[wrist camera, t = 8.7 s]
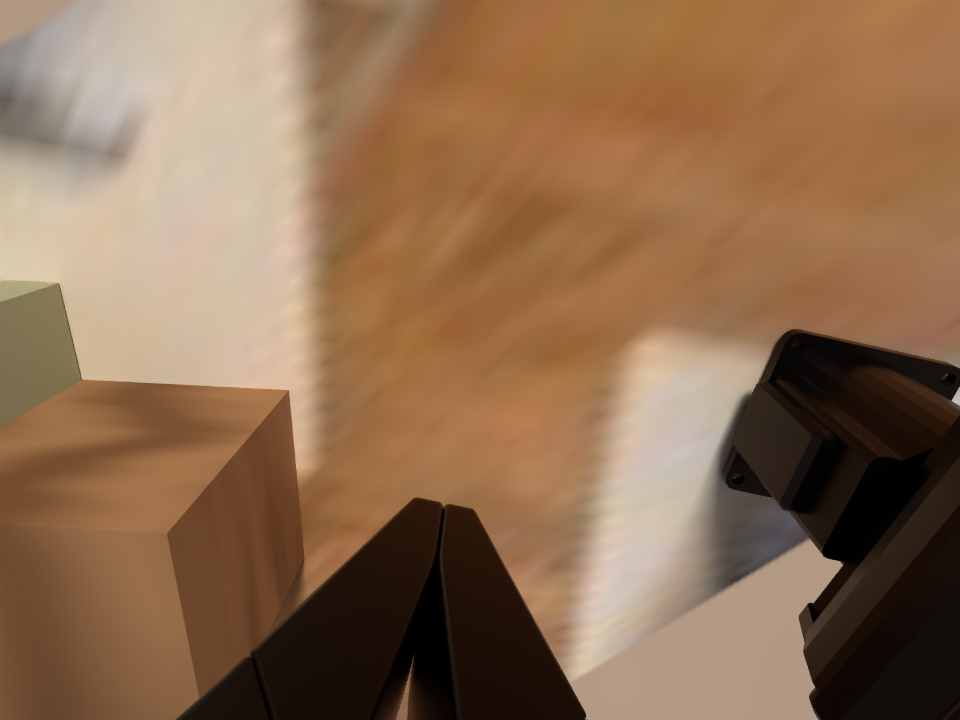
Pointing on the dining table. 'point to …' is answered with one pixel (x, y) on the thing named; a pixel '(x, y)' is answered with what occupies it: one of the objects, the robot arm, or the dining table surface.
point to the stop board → (33, 347)
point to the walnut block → (141, 545)
